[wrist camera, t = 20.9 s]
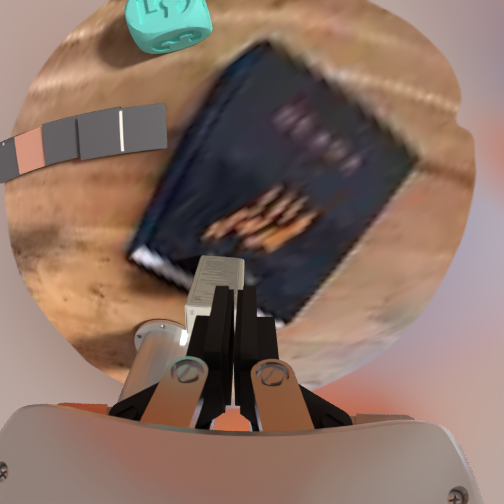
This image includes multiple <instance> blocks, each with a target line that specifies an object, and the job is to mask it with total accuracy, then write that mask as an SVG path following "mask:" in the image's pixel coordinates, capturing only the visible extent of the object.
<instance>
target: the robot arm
mask: <svg viewBox="0 0 504 504" xmlns="http://www.w3.org/2000/svg"><path fill="white" fill-rule="evenodd" d="M134 344H135V347H136V350H137V354H136V357H135V359H134V362H133V364H132V366H131V369H130V371H129V374H128V376H127V379H126V381H125V384H124V386H123V389H122V391H121V394H120V396H119V399H118V402H117V404H115V405H114V406H113V407H108V405H107V404H81V403H59V404H57V405H52V404H37V405H28V406H24V407H22V408H20V409H18V410H17V411H16V412H14V413H13V414H12V416H11V417H10V418H9V419H8V421H7V422H6V424H5V425H4V427H3V428H2V430H1V432H0V504H484V503H483V500H482V497H481V494H480V491H479V488H478V485H477V482H476V479H475V476H474V474H473V471H472V469H471V467H470V464H469V462H468V460H467V458H466V455H465V454H464V452H463V450H462V448H461V446H460V445H459V443H458V441H457V440H456V438H455V437H454V436H453V434H452V433H451V432H450V431H449V430H448V429H446V428H445V427H443V426H442V425H440V424H436V423H433V422H428V421H420V420H415V419H414V418H412V417H410V416H408V415H385V414H384V415H383V414H359V413H357V414H356V416H349V415H348V414H347V413H346V412H344V411H343V410H341V409H340V408H338V407H336V406H334V405H333V404H331V403H329V402H327V401H326V400H324V399H322V398H321V397H319V396H317V395H316V394H314V393H312V392H311V391H309V390H308V389H306V388H304V387H303V386H301V385H300V384H298V382H297V379H296V376H295V373H294V371H293V369H292V367H291V366H290V365H289V364H287V363H286V362H284V361H281V360H279V355H278V346H277V337H276V327H275V319H274V317H257V304H256V286H243V290H241V289H238V295H237V309H236V323H234V289H229V286H216V287H215V292H214V297H213V302H212V307H211V312H210V316H206V315H197V316H196V318H195V321H194V325H193V329H192V333H191V335H187V333H186V327H185V326H183V325H181V324H178V323H176V322H172V321H169V320H152V321H148V322H146V323H144V324H143V325H141V326H140V327H139V329H138V330H137V332H136V334H135V338H134ZM233 363H234V387H235V406H240V414H241V415H243V416H244V417H245V418H246V419H248V420H249V421H250V431H220V430H213V428H214V424H215V418H216V417H218V416H219V415H221V414H222V413H225V407H226V405H231V395H232V379H233Z"/></svg>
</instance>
